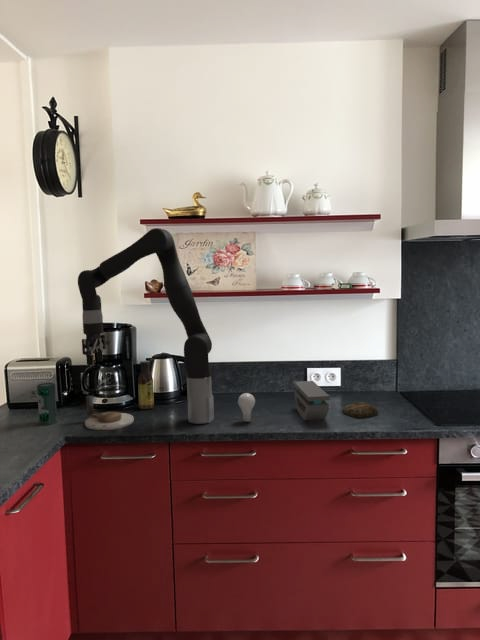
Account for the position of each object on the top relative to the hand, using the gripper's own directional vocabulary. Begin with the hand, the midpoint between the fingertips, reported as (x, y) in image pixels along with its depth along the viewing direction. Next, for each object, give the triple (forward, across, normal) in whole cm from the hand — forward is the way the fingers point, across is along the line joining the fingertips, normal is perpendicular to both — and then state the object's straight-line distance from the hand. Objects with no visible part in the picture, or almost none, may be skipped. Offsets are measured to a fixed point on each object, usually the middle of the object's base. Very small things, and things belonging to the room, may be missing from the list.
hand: (95, 362), depth 197 cm
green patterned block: (+22, -9, +16) cm, 29 cm away
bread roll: (+23, +20, -102) cm, 106 cm away
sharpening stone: (+22, +14, -83) cm, 87 cm away
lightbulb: (+22, +3, -60) cm, 64 cm away
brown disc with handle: (+20, -6, -6) cm, 22 cm away
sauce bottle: (+22, +16, -14) cm, 31 cm away
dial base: (+22, -6, -8) cm, 24 cm away
